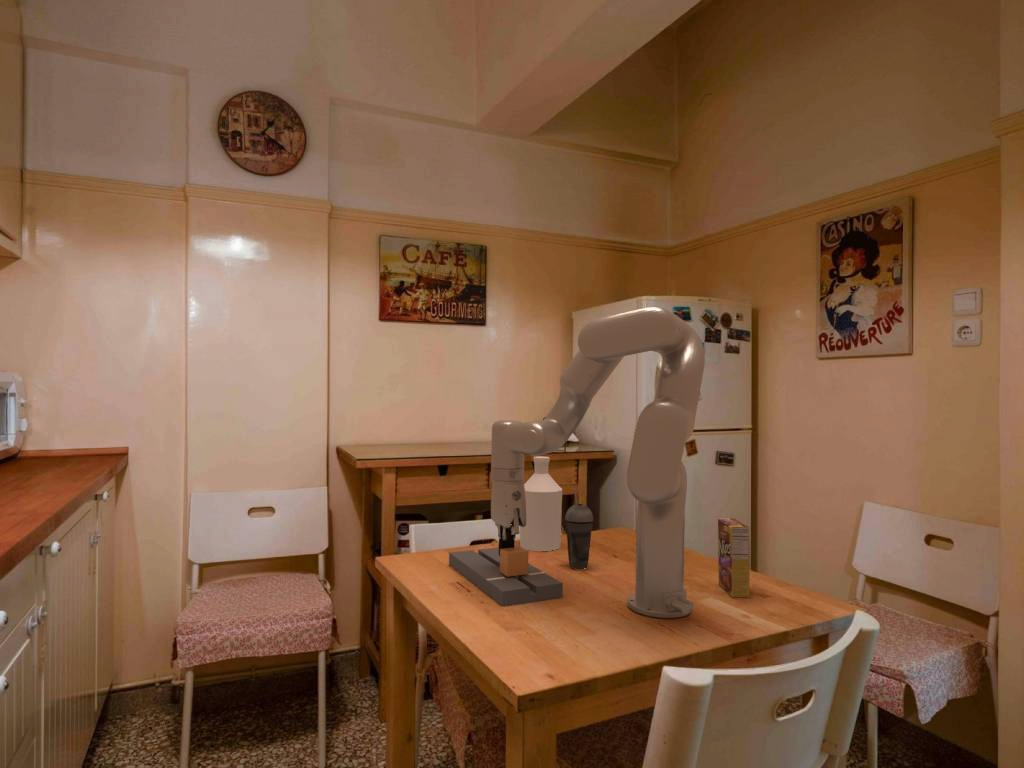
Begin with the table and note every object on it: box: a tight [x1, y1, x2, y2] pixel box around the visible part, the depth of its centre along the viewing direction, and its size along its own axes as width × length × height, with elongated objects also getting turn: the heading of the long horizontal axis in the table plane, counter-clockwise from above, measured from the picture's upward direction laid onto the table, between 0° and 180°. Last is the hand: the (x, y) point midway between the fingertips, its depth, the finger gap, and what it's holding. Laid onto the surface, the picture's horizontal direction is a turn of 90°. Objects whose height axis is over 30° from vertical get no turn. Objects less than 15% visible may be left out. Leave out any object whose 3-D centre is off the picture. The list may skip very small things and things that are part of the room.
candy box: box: [717, 517, 751, 599], centre depth 135 cm, size 9×4×15 cm, turn 0°
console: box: [448, 546, 564, 607], centre depth 140 cm, size 32×14×3 cm, turn 25°
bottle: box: [519, 455, 563, 552], centre depth 171 cm, size 12×12×25 cm
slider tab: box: [500, 546, 529, 580], centre depth 134 cm, size 4×5×7 cm
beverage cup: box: [564, 485, 595, 570], centre depth 152 cm, size 7×7×20 cm
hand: (506, 556), depth 138 cm, fingers closed
